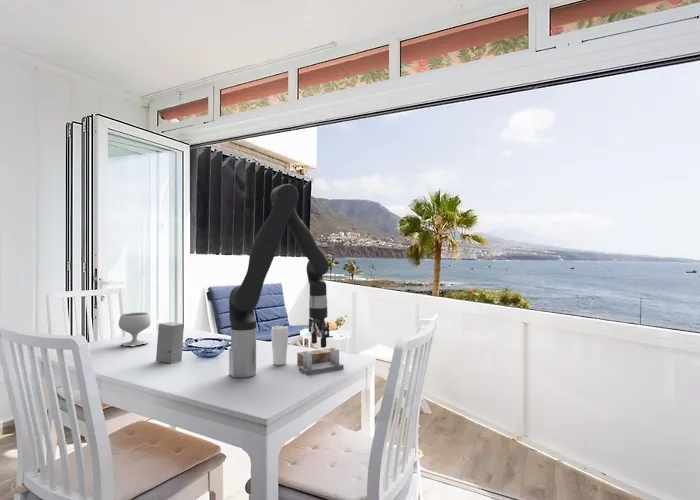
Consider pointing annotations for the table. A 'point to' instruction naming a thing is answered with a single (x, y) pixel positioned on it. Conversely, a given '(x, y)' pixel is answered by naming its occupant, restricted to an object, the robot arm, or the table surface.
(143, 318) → the chalice
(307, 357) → the peg stand
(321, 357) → the brown rectangular block
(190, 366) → the table surface
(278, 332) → the drinking glass
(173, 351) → the skincare box
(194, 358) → the table surface
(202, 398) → the table surface
